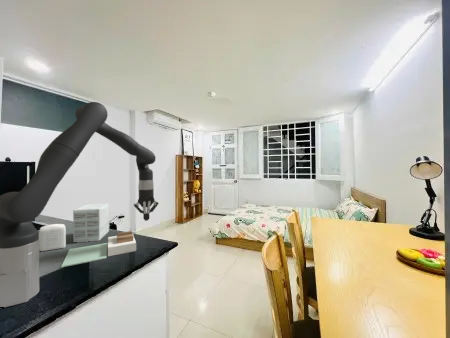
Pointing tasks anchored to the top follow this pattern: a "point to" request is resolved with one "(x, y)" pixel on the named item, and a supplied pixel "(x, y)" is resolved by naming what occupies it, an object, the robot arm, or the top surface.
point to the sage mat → (85, 254)
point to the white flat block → (120, 246)
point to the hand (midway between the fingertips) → (146, 220)
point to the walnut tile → (124, 237)
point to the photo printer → (52, 237)
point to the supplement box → (90, 222)
